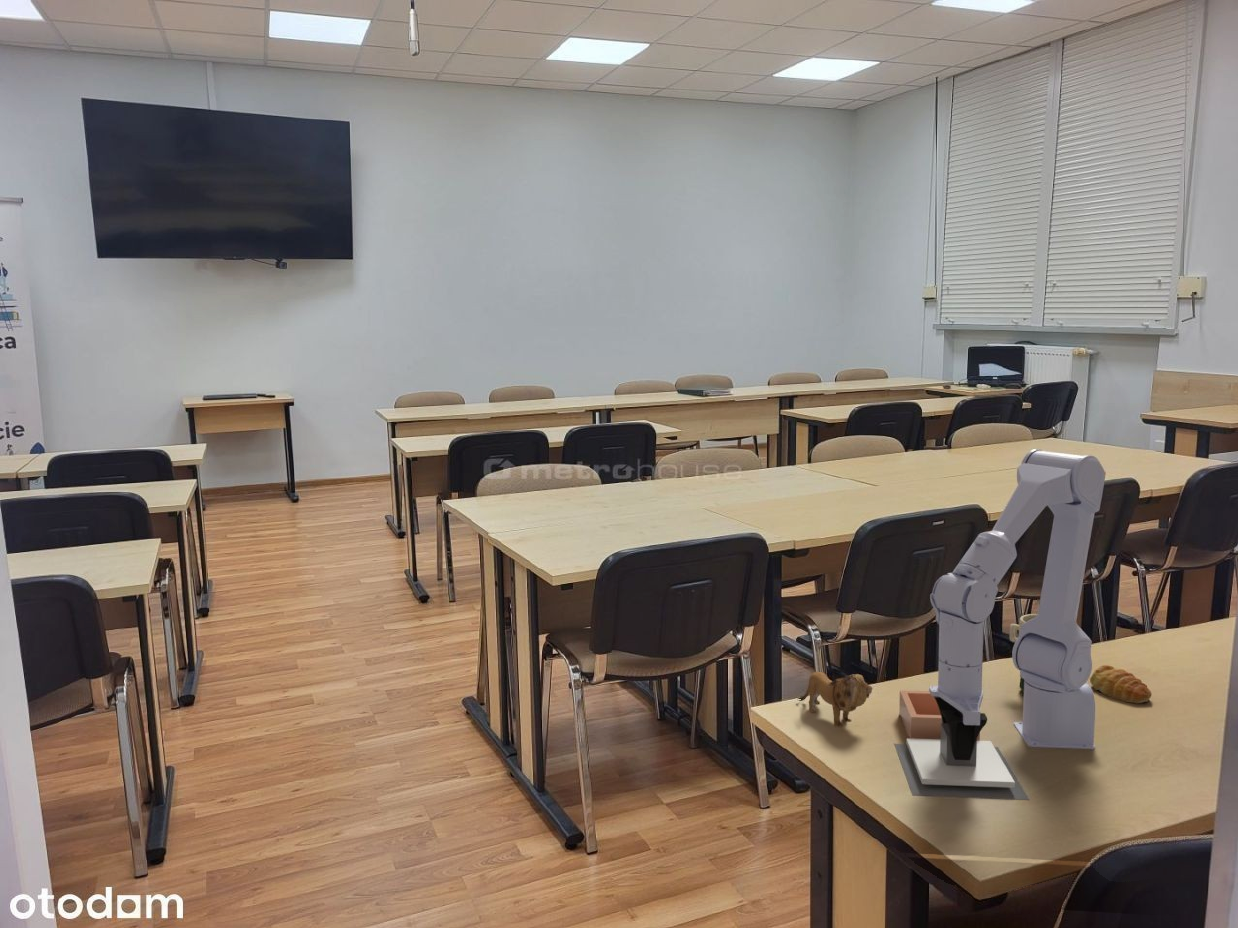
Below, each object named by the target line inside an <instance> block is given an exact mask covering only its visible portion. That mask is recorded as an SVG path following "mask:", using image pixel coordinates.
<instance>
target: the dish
mask: <svg viewBox="0 0 1238 928" xmlns="http://www.w3.org/2000/svg"><path fill="white" fill-rule="evenodd" d="M898 714H899V717H900V720H901V722H902V724H903V727H904V730H905V732H906V734H907V737H908V738H911V739H940V737H941V723H942V718H941V713H940V710H939V707H938V704H937V702H936V700H935V698H934V696H932V695H931V694H930V692H929V690H905V689H904V690H901V689H900V690H899V713H898ZM980 737H981V732H980V733H979V735H978V737H977V741H981V740H980V739H981V738H980Z"/></svg>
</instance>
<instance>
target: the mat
mask: <svg viewBox="0 0 1238 928" xmlns="http://www.w3.org/2000/svg"><path fill="white" fill-rule="evenodd" d="M893 744H894V747H895V750H896V753H897V755H898V759H899V761H900V764H901V768H902V770H903V773H904V776H905V778H906V780H907V784H908V786H909V789H910V793H911V795H912V796H921V797H942V798H944V797H948V798H966V799H967V798H968V799H969V798H971V799H993V800H1016V801H1017V800H1019V801H1030V798H1029V797H1028V795H1027V793H1026V791H1025V790H1024V788H1023V787H1022V785H1021V784H1020V781H1019V779H1018V778H1017V776H1016V775H1015V774H1014V771H1013V770H1012V768H1011V766H1010V765H1009V763H1008V761H1007V760H1006V758H1005V756H1004V754H1003V753H1002V751H1001V750H1000V748H999V747H998V746H994V747H995V749H996V751H997V753H998V754H999V756H1000V758H1001V759H1002V761H1003V763H1004V764H1005V766H1006V768H1007V770H1008V771H1009V773H1010V775H1011V776H1012V778H1013V780H1014V782H1015V788H1011V787H984V786H957V785H931V784H922V782H921V780H920V777H919V775H918V772H917V769H916V767H915V764H914V762H913V759H912V756H911V754H910V751H909V749H908V746H907V743H893Z"/></svg>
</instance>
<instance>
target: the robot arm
mask: <svg viewBox="0 0 1238 928" xmlns="http://www.w3.org/2000/svg"><path fill="white" fill-rule="evenodd" d="M1106 474H1107V473H1106V471H1105V469H1104V467H1103V466H1102V464H1101V461H1100V460H1099V459H1098V458H1097V457H1096V456H1095V455H1094V456H1093V455H1091V454H1088V455H1087V454H1086V455H1082V454H1075V453H1074V454H1073V453H1063V452H1056V451H1055V452H1054V451H1048V450H1042V449H1038V448H1034V449H1031V450H1030V451H1028V452H1027V453H1026V454H1025V456H1024V457H1023V459H1022V460H1021V463H1020V465H1019V466H1018V467H1017V469H1016V481H1017V482H1016V484H1017V486H1016V488H1015V490H1014V491H1013V493H1012V494H1011V496H1010V498H1009V500H1008V501H1007V503H1006V506H1004V509H1003V511H1002V512H1001V514H1000V516H999V517H998V519H997V521H996V522H995V524H994V526H993V528H992V530H990V531H989V530H988V531H984V532H981V533H979V534H978V535H977V536H976V538H975V539H974V541H972V544H971V545H970V547H969V548H968V549H967V550H966V552H965V554H964V555H963V557H962V558H961V559H960V560H959V562H958V564H957V565H956V566H955V568H954V569H953V570H952V572H948V573H947V574H944V575H942V576H940V577H939V578H938V579H937V580H936V581H935V583H934V586H933V588H932V593H931V594H929V597H930V598H929V600H930V603H931V604H930V605H931V606H932V608H933V609H934V611H935V621H936V623H937V624H938V625H939V630H938V631H939V634H938V671H937V672H938V673H937V674H938V676H937V677H938V681H937V685H930V686H928V687H929V689H928V691H929V692H930V694H931V695H932V696H934V698H935V700H936V702H937V704H938V707H939V710H940V713H941V718H942V723H947V725H948V728H949V732H950V739H951V747H952V752H953V756H954V759H955V760H970V759H971V756H972V753H973V749H974V746H975V742H976V740H977V737H978V735H979V733H980V734H981V731H982V730H983V728H984V727H985V726H986V724H987V723H988V717H987V715H986V713H984V712H982V713H981V710H980V708H981V706H982V702H983V699H984V691H983V658H984V656H983V654H984V652H983V651H984V630H985V629H984V625H985V624H984V623H985V620H986V619H987V618H988V617H989V615H991V613H992V612H993V610H994V607H995V602H996V596H997V594H998V592H999V591H998V590H999V587H998V586H999V584H1000V582H1001V580H1002V579H1003V578H1004V576H1005V575H1006V573H1007V572H1008V570H1009V569H1010V567H1011V566H1012V564H1013V563H1014V561H1015V560H1016V558H1017V556H1018V553H1017V549H1016V543H1017V542H1018V541H1019V540H1020V538H1021V537H1022V536H1023V535H1024V533H1025V532H1026V531H1027V530H1028V529H1029V528H1030V526H1031V525H1032V524H1033V522H1035V520H1036V519H1037V518H1038V517H1039V515H1040V514H1041V512H1042V511H1043V510H1044V509H1045V508H1046V507H1048V508H1049V509H1050V511H1051V512H1052V514H1053V521H1052V528H1051V533H1050V540H1049V546H1048V551H1047V557H1046V565H1045V568H1044V576H1043V580H1042V588H1041V592H1040V593H1041V594H1040V599H1039V605H1038V610H1037V611H1038V612H1037V614H1038V616H1037V617H1035V618H1033V619H1031V620H1029V621H1027V622H1025V623H1023V624H1022V625H1021V630H1020V634H1019V633H1018V636H1017V638H1018V639H1017V640H1016V642H1014V644H1013V647H1012V651H1011V652H1012V653H1011V654H1012V655H1011V657H1012V663H1013V665H1014V666H1015V669H1017V670H1018V671H1019V677H1020V678H1023V679H1024V691H1023V702H1022V703H1023V704H1022V721H1014V722H1013V726H1014V727H1015V729H1016V731H1017V732H1018V733H1019V735H1020V736H1021V738H1022V740H1023V741H1024V742H1025V744H1026V745H1027V747H1030V748H1049V749H1050V748H1053V749H1054V748H1055V749H1079V750H1081V749H1082V750H1085V749H1086V750H1096V745H1095V743H1094V742H1095V741H1094V740H1095V739H1094V738H1095V725H1096V724H1095V722H1096V699H1095V695H1094V691H1093V689H1092V687H1091V686H1090V684H1089V683H1087V682H1088V681H1089V680H1090V678H1091V674H1092V670H1093V660H1092V655H1091V653H1092V651H1091V650H1092V643H1093V641H1092V640H1091V638H1090V637H1089V636H1088V635H1087V634H1086V632H1085V631H1083V629H1082V628H1081V627H1080V626H1079V625H1078V623H1077V618H1078V611H1079V607H1080V601H1081V595H1082V589H1083V583H1084V578H1085V571H1086V566H1087V559H1088V553H1089V549H1090V544H1091V543H1090V542H1091V536H1092V531H1093V530H1092V529H1093V524H1094V518H1095V513H1097V512H1099V511H1100V509H1101V502H1102V498H1103V491H1104V486H1105V480H1106ZM1044 636H1045V637H1044ZM1047 637H1048V638H1047ZM1050 638H1051V639H1050ZM1053 639H1054V640H1053ZM1056 640H1057V641H1056ZM1059 641H1060V642H1059Z"/></svg>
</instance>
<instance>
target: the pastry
mask: <svg viewBox="0 0 1238 928" xmlns="http://www.w3.org/2000/svg"><path fill="white" fill-rule="evenodd" d="M1091 674H1092V675H1091V676H1090V677H1089V683H1090V684H1091V686H1092V687H1093V689H1094V690H1095V691H1099V692H1101V693H1102V694H1103V695H1106V696H1107V695H1108V697H1112V698H1113V699H1116V700H1120V701H1123V702H1126V703H1134V704H1142V703H1144V702H1149V701H1150V698H1151V697H1152V692H1151V690H1150V689H1149V688H1148V686H1147V685H1146V684H1145V683H1144V682H1142V680H1141V679H1140V678H1137V677H1136V676H1135V675H1134V674H1133V673H1132V672H1128V671H1126V670H1124V669H1121V668H1118V669H1117V668H1116V667H1115V668H1114V666H1111V665H1108V664H1106V665H1105V664H1104V665H1101V666H1099V667H1098V668H1097V669H1095V670H1094V671H1093V673H1091Z"/></svg>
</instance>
